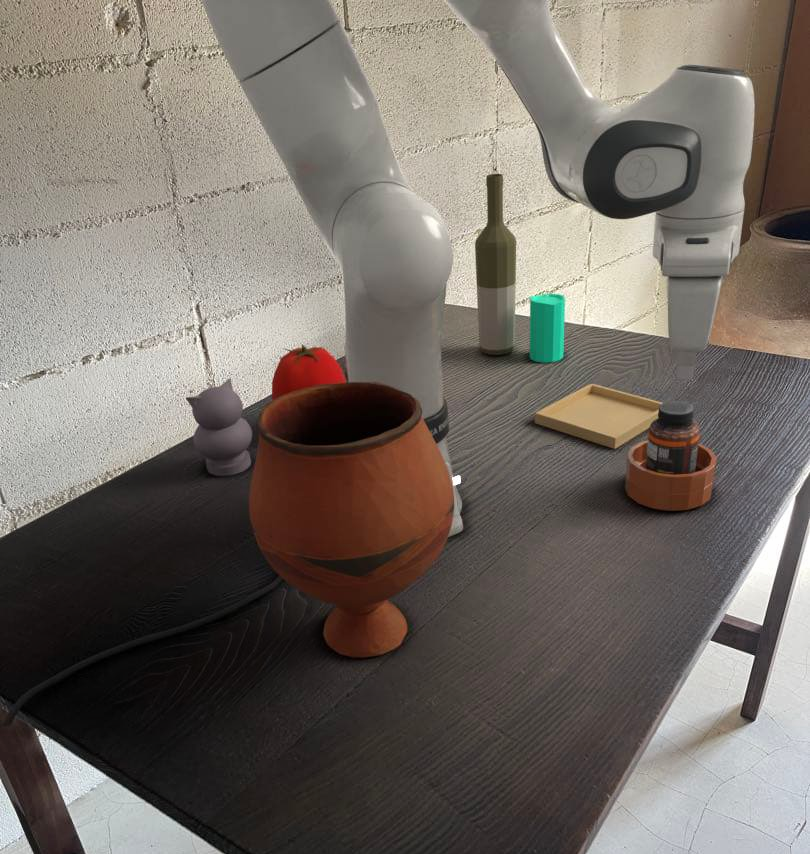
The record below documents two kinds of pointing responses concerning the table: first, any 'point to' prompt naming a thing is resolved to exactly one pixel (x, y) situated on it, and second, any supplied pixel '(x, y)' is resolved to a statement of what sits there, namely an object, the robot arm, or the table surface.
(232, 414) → the cat figurine
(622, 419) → the tray
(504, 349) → the bottle
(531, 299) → the candle
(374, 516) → the goblet
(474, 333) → the table surface
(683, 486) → the bowl
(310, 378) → the tomato
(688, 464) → the supplement bottle
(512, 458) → the table surface
